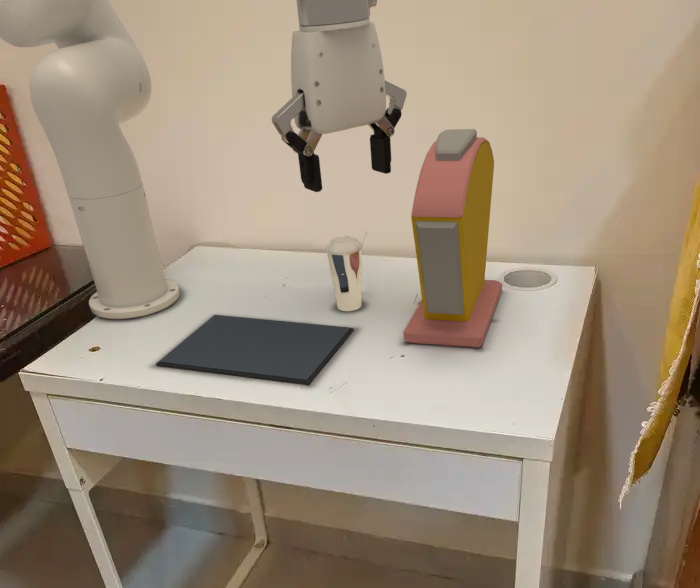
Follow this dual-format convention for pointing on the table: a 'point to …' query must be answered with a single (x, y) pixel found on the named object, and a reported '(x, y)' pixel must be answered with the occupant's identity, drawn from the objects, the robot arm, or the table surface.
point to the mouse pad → (258, 348)
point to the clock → (453, 242)
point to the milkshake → (346, 271)
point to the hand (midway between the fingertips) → (348, 180)
